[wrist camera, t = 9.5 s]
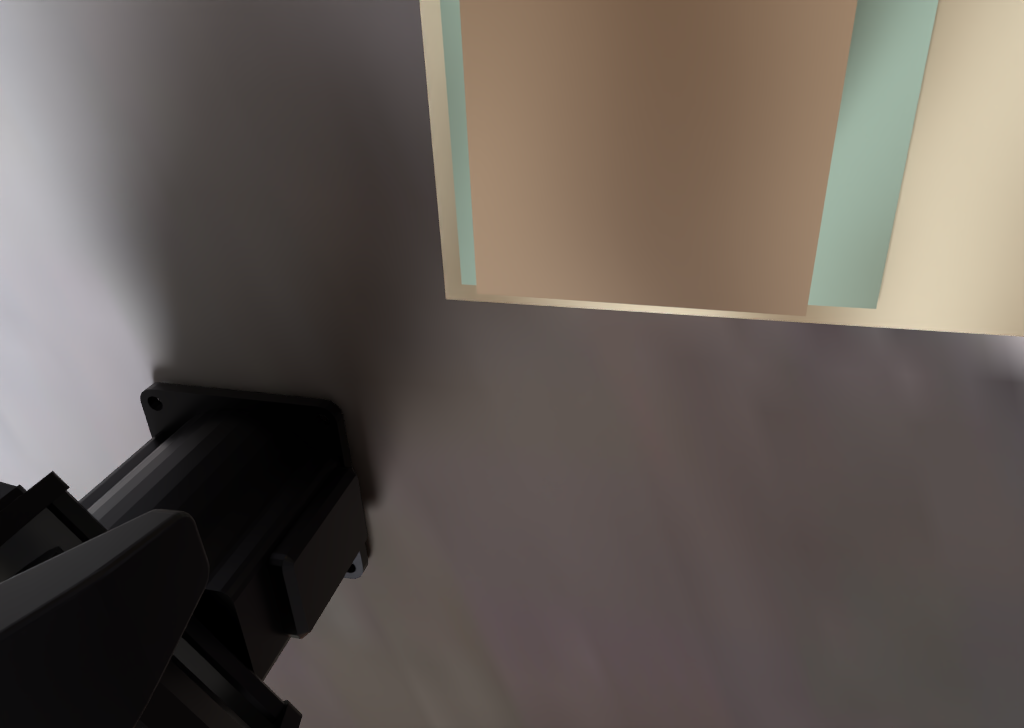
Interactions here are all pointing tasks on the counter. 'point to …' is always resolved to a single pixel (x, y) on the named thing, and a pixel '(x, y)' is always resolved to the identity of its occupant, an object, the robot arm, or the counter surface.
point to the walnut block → (652, 147)
